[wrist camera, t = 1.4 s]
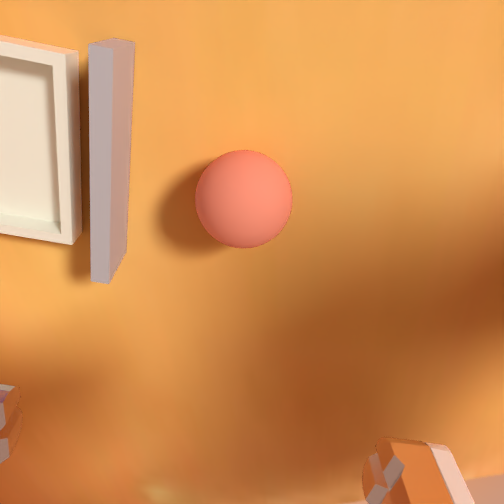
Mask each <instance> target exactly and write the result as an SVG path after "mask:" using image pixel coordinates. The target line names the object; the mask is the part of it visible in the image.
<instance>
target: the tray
mask: <svg viewBox="0 0 504 504" xmlns="http://www.w3.org/2000/svg"><path fill="white" fill-rule="evenodd" d="M0 233H3V234H9V235H15V236H21V237H27V238H33V239H39V240H45V241H51V242H57V243H63V244H69V245H73V243H74V242H75V241H76V240H77V238H78V237H79V236H80V234H81V233H82V195H81V148H80V101H79V55H78V51H77V50H72V49H67V48H62V47H57V46H52V45H48V44H43V43H38V42H33V41H28V40H23V39H18V38H14V37H9V36H4V35H0Z"/></svg>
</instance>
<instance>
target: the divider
mask: <svg viewBox="0 0 504 504" xmlns="http://www.w3.org/2000/svg"><path fill="white" fill-rule="evenodd" d="M88 52H89V150H90V249H91V281H93V282H99V283H106V284H109V283H110V281H111V280H112V278H113V276H114V274H115V272H116V270H117V268H118V266H119V265H120V263H121V261H122V259H123V257H124V255H125V253H126V246H127V222H128V198H129V174H130V150H131V126H132V102H133V77H134V53H135V42H131V41H126V40H122V39H117V38H111V39H107V40H103V41H99V42H94V43H90V44H88Z"/></svg>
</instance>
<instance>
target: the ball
mask: <svg viewBox="0 0 504 504" xmlns="http://www.w3.org/2000/svg"><path fill="white" fill-rule="evenodd" d="M195 205H196V210H197V214H198V217H199V219H200V221H201V223H202V225H203V227H204V228H205V229H206V231H207V232H208V233H209V234H210V235H211V236H212V237H214V238H215V239H216V240H218V241H219V242H221V243H223V244H225V245H228V246H231V247H235V248H252V247H257V246H260V245H262V244H264V243H266V242H268V241H270V240H271V239H273V238H274V237H275V236H276V235H278V233H279V232H280V231H281V230H282V229H283V227H284V226H285V224H286V223H287V221H288V218H289V215H290V212H291V208H292V190H291V186H290V183H289V181H288V178H287V176H286V174H285V173H284V171H283V170H282V169H281V167H280V166H279V165H278V164H277V163H276V162H275V161H273V160H272V159H271V158H269V157H267V156H266V155H263V154H261V153H258V152H254V151H248V150H239V151H233V152H229V153H226V154H224V155H222V156H220V157H218V158H217V159H215V160H214V161H213V162H212V163H210V164H209V165H208V166H207V168H206V169H205V170H204V172H203V173H202V175H201V177H200V179H199V181H198V184H197V188H196V193H195Z"/></svg>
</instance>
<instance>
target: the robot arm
mask: <svg viewBox="0 0 504 504" xmlns="http://www.w3.org/2000/svg"><path fill="white" fill-rule="evenodd" d="M20 398H21V394H20V387H16V386H10V385H4V384H0V463H2V462H3V461H5V460H6V459H7V458H9V457H10V455H11V453H12V451H13V449H14V447H15V445H16V443H17V440H18V437H19V434H20V432H21V428H22V421H23V416H22V411H21V410H20V409H19V408H18V407H17V406H16V405H17V404H18V402H19V400H20ZM375 446H376V450H377V453H376V454H374V455H372V456H370V457H368V459H367V461H366V463H365V465H364V469H363V476H362V481H363V490H364V495H365V499H366V501H367V502H368V503H369V504H475V503H474V501H473V498H472V496H471V494H470V492H469V490H468V488H467V485H466V483H465V481H464V479H463V477H462V475H461V473H460V470H459V468H458V466H457V464H456V462H455V460H454V457H453V455H452V453H451V451H450V450H449V449H448V447H447V446H446V445H441V444H434V443H426V442H422V441H415V440H407V439H399V438H391V437H383V438H381V439H379V441H378V442H377V444H376V445H375Z"/></svg>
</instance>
